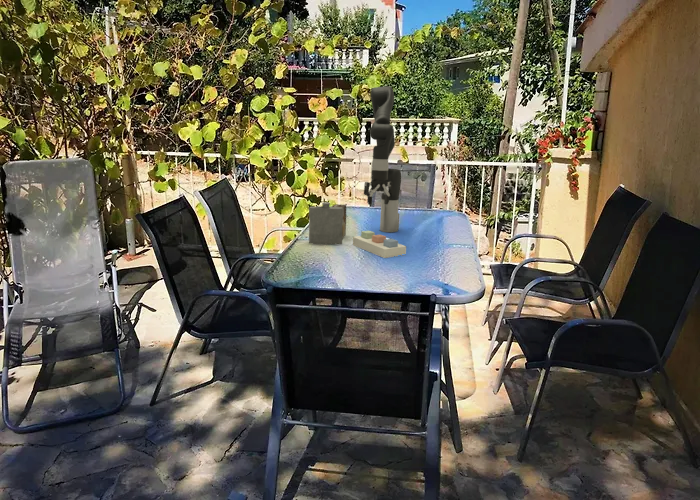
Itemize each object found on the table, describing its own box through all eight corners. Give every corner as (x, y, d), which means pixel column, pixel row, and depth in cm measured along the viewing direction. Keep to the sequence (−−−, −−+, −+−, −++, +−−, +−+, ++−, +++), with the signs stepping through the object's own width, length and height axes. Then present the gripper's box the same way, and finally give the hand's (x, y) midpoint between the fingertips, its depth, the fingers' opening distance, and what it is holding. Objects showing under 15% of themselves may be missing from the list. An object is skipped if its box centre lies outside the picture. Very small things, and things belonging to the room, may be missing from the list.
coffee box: (333, 234, 276) (334, 203, 272) (346, 235, 275) (346, 204, 271) (329, 238, 268) (330, 207, 264) (342, 239, 267) (342, 207, 262)
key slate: (391, 244, 245) (391, 238, 244) (397, 246, 241) (398, 240, 240) (383, 245, 242) (383, 239, 242) (389, 248, 239) (389, 241, 238)
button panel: (373, 242, 263) (373, 234, 262) (405, 254, 243) (406, 246, 242) (352, 245, 257) (352, 236, 256) (384, 258, 236) (384, 249, 235)
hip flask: (341, 242, 261) (342, 202, 256) (342, 244, 257) (343, 203, 252) (309, 242, 260) (309, 201, 255) (308, 244, 256) (309, 202, 251)
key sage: (368, 236, 259) (369, 230, 258) (374, 238, 255) (374, 232, 255) (361, 237, 257) (361, 231, 256) (366, 239, 253) (366, 233, 252)
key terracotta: (379, 240, 252) (380, 234, 251) (385, 242, 248) (386, 236, 247) (371, 241, 249) (372, 235, 249) (377, 243, 246) (377, 237, 245)
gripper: (389, 168, 250) (387, 202, 253) (362, 168, 243) (360, 203, 247) (397, 169, 243) (395, 205, 247) (370, 169, 237) (368, 206, 241)
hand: (377, 204), depth 247 cm, fingers open, 8 cm apart
